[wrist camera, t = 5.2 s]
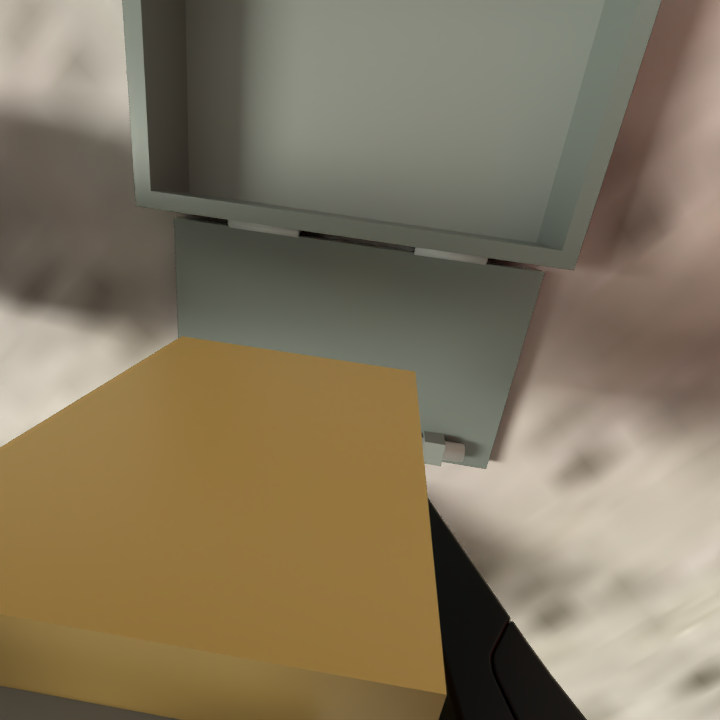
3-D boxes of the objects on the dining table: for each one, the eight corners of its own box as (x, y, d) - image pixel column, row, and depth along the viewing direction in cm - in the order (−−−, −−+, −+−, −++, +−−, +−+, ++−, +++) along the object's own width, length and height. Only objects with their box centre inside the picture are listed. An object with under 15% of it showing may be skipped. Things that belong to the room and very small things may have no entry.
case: (183, 218, 18) (136, 221, 15) (175, -92, 15) (110, -176, 11) (538, 270, 18) (569, 285, 15) (628, -38, 14) (697, -111, 11)
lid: (188, 411, 22) (170, 428, 20) (183, 217, 18) (161, 218, 17) (483, 459, 21) (490, 481, 20) (538, 269, 18) (552, 276, 16)
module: (188, 519, 10) (-86, 932, 5) (181, 336, 9) (-294, 628, 3) (380, 551, 10) (355, 1025, 4) (415, 371, 8) (453, 767, 3)
